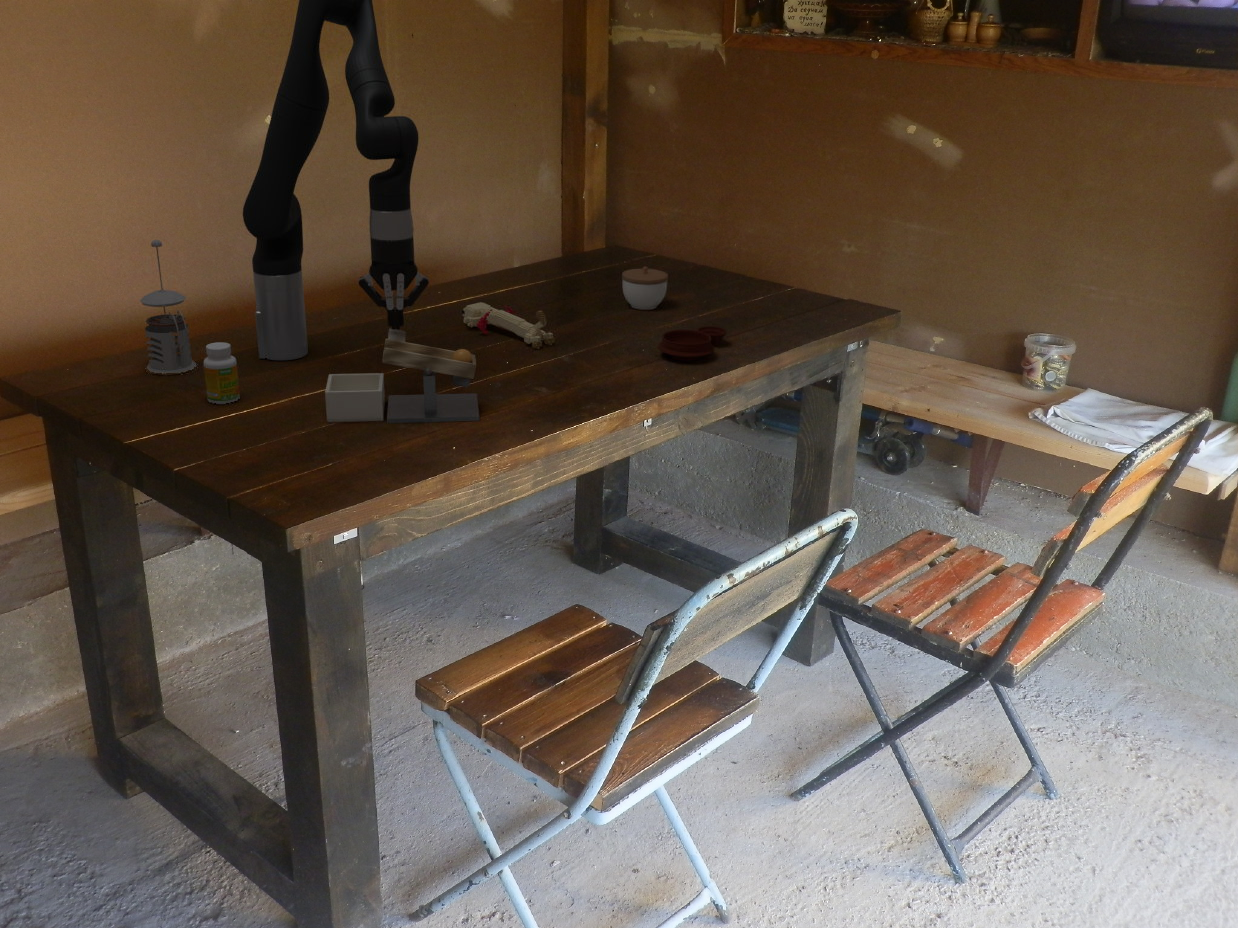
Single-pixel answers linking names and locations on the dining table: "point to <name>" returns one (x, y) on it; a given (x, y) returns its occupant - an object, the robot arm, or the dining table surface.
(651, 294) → the lidded jar
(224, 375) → the supplement bottle
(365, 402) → the open grey tray box
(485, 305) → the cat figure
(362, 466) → the dining table surface
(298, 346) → the robot arm
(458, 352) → the ball
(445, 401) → the stand
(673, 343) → the pottery
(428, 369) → the chute
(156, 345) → the french press
